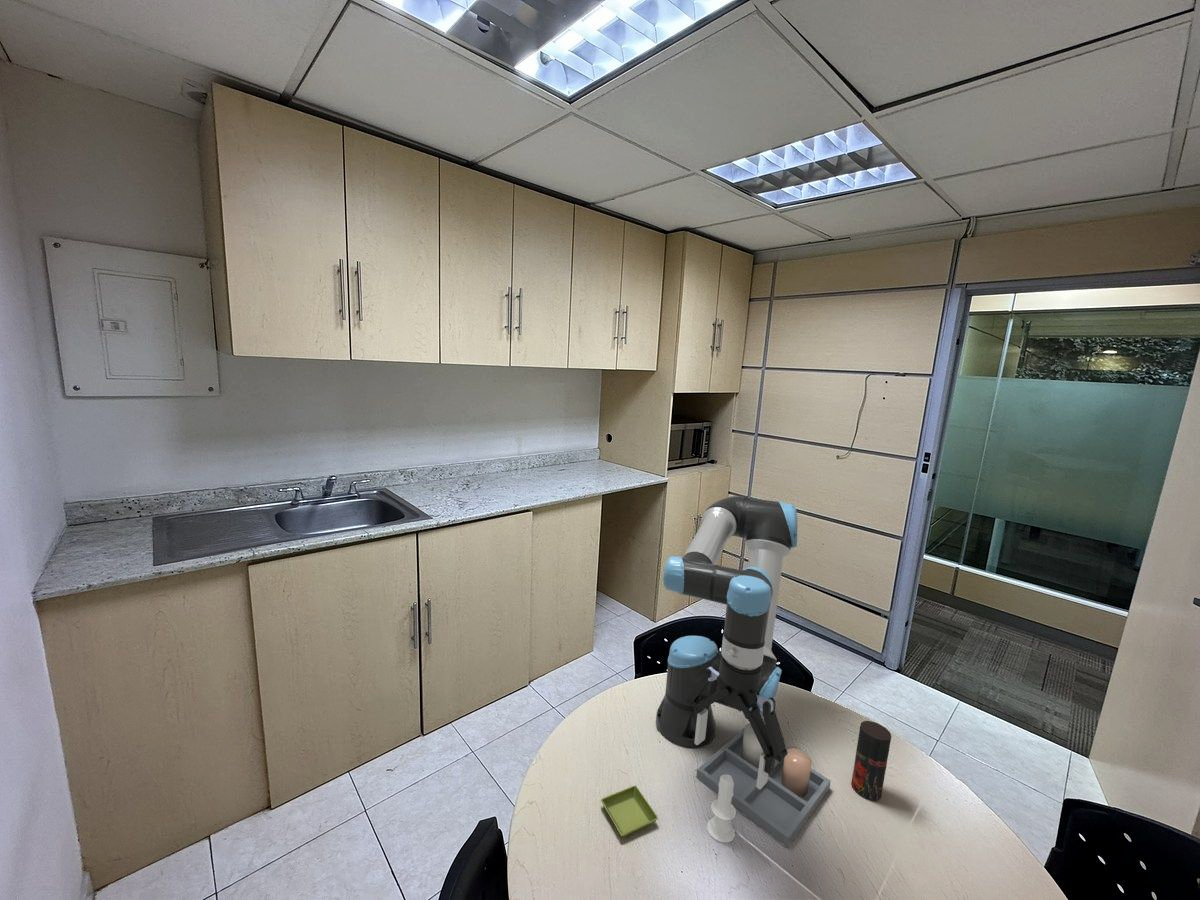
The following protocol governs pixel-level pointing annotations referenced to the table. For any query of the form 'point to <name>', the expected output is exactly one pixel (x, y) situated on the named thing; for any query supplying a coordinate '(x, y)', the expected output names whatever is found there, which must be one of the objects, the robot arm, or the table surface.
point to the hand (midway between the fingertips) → (729, 762)
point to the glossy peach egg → (796, 771)
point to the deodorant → (871, 760)
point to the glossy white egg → (751, 747)
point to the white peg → (723, 812)
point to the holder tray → (763, 791)
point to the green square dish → (629, 810)
